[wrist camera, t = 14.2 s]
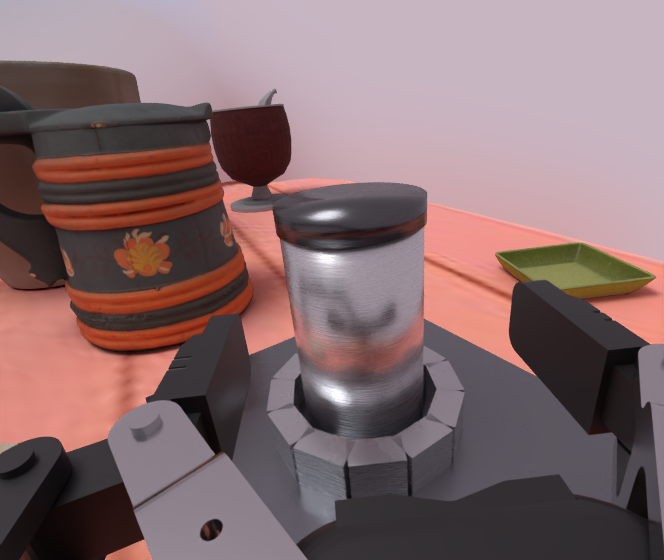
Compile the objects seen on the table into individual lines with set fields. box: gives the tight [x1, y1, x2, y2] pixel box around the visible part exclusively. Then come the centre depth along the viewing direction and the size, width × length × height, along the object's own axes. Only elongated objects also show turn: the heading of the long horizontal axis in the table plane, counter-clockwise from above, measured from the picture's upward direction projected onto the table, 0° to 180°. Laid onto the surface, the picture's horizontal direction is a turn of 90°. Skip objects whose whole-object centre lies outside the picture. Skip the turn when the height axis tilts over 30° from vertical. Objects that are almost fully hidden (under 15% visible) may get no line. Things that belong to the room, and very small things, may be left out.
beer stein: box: [0, 86, 253, 351], centre depth 30 cm, size 19×15×20 cm
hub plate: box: [146, 319, 616, 544], centre depth 19 cm, size 18×18×3 cm
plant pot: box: [0, 61, 141, 289], centre depth 45 cm, size 25×25×22 cm
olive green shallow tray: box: [495, 243, 656, 299], centre depth 33 cm, size 9×9×2 cm
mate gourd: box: [210, 89, 291, 212], centre depth 71 cm, size 16×14×20 cm
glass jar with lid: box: [272, 182, 427, 440], centre depth 17 cm, size 6×6×11 cm
